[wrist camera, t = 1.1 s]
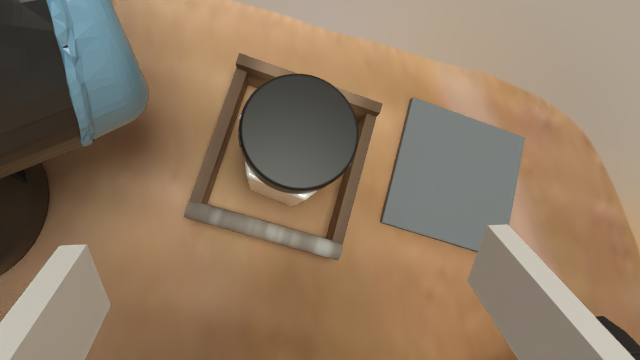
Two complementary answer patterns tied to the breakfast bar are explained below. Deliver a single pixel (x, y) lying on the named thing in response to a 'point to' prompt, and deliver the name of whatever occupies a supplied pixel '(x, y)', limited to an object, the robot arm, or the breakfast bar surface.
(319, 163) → the jar
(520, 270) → the robot arm
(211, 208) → the jar holder
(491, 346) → the breakfast bar surface
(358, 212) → the breakfast bar surface
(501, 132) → the mat
